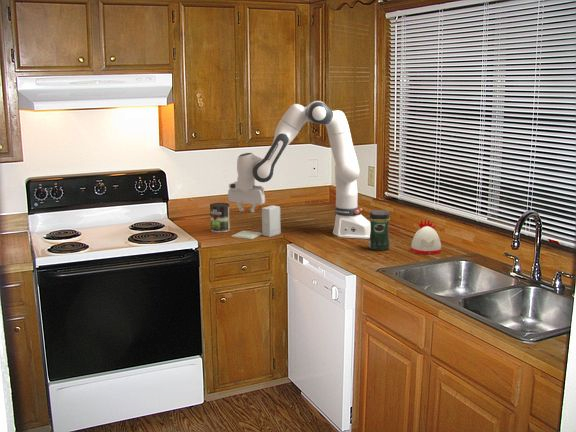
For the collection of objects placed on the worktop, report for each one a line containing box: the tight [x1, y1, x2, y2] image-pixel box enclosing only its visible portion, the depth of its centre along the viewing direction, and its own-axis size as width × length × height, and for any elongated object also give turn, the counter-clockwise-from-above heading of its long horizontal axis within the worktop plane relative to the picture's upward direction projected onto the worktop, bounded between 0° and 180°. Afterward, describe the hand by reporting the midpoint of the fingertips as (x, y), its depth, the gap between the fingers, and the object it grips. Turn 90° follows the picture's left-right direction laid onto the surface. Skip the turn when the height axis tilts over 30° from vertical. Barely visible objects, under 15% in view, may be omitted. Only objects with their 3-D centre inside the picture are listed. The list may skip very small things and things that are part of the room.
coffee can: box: [209, 202, 231, 233], centre depth 348 cm, size 10×10×14 cm
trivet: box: [230, 230, 263, 240], centre depth 337 cm, size 12×12×1 cm
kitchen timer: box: [410, 218, 442, 255], centre depth 304 cm, size 14×14×15 cm
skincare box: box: [261, 204, 282, 238], centre depth 336 cm, size 8×6×15 cm
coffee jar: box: [368, 209, 391, 251], centre depth 308 cm, size 10×8×19 cm
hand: (246, 211), depth 334 cm, fingers open, 5 cm apart
